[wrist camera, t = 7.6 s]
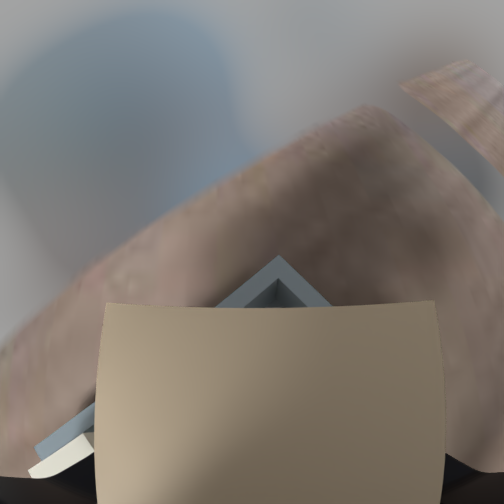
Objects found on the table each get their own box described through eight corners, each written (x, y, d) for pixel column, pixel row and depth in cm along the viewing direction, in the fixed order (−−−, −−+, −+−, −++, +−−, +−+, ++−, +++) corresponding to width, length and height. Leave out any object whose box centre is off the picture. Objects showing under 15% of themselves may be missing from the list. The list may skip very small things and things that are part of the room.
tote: (173, 565, 10) (157, 590, 6) (67, 444, 14) (33, 447, 11) (397, 401, 15) (427, 400, 12) (275, 281, 20) (278, 254, 16)
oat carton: (308, 455, 13) (425, 571, 1) (218, 455, 13) (108, 578, 2) (307, 373, 15) (435, 296, 4) (220, 374, 15) (104, 299, 4)
